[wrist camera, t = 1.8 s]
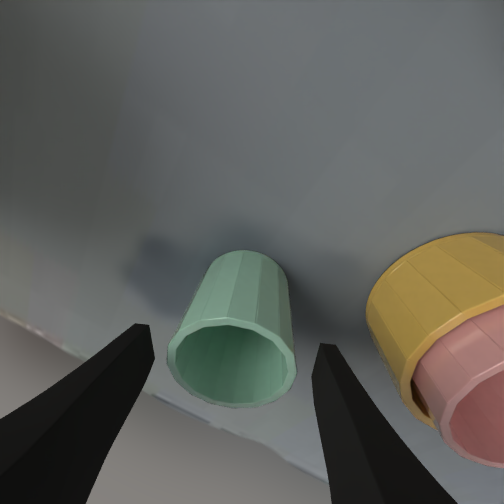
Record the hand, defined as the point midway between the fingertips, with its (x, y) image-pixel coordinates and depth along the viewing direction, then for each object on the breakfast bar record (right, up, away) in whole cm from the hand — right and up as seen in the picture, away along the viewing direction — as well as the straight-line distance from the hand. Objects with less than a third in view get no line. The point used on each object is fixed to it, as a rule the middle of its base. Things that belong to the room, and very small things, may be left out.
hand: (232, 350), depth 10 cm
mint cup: (0, +2, +4) cm, 5 cm away
